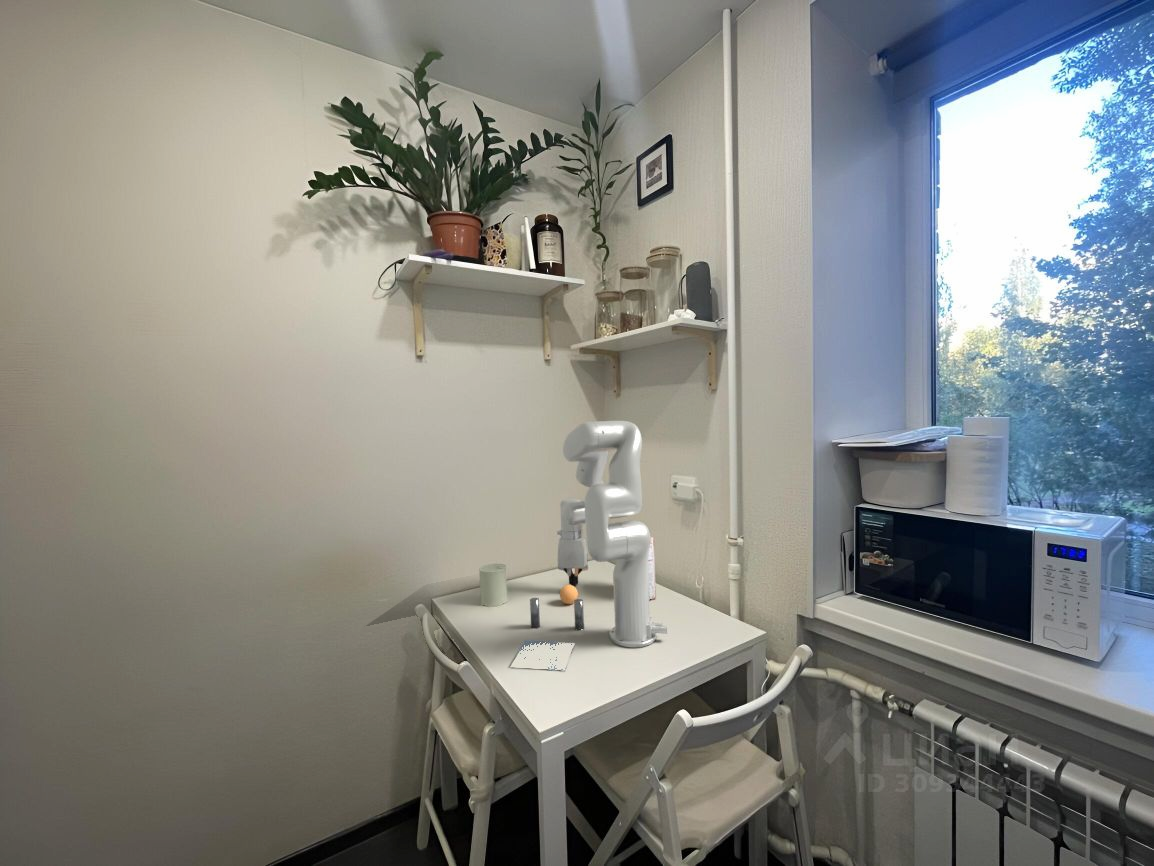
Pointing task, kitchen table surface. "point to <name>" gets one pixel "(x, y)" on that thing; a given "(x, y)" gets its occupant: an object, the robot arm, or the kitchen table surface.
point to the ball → (568, 594)
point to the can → (493, 584)
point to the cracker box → (651, 571)
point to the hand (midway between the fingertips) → (573, 586)
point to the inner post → (579, 614)
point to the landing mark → (528, 642)
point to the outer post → (534, 612)
